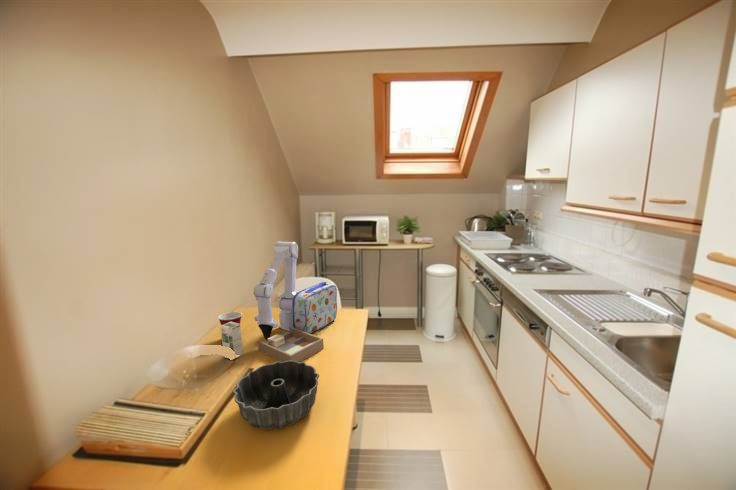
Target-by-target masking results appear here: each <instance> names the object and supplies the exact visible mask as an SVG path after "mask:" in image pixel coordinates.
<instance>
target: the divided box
mask: <svg viewBox="0 0 736 490" xmlns="http://www.w3.org/2000/svg"><path fill="white" fill-rule="evenodd" d="M279 335H280V336H283V337H284V340H285V343H284V344H282V345H280V346H278V347H276V348H275V347H273V346H270V345H268V340H266V341H265V342H264V341H261V340H257V345H258V351H259V352H260V353H263V354H265V355H267V356H269V357H271V358H273V359H275V360H277V361H278V362H284V361H297V362H299V363H300V362H303V361H304V360H306V359H308V358H309V357H311V356H313V355H314V354H317V353H318V352H319V351H321V350H323V349H325V348H324V347H325V346H324V338H323V337H319V336H316V335H314V334H312V333H310V334H309V333H306V332H304V331H301V330H298V329H295V328H293V327H289V331H286V332H285V333H283V334H279Z"/></svg>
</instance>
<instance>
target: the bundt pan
mask: <svg viewBox="0 0 736 490" xmlns="http://www.w3.org/2000/svg"><path fill="white" fill-rule="evenodd" d="M319 377H320V374H319V373H317V372H316V368H315V366H313V365H310V364H307V363H306V362H303V361H300V362H297V361H284V362H281V361H275V362H273V363H267V364H264V365H261V366H258V367H257V368H256V369H254V370H251V371H248V372H247V374H246V375H245V376H243V377H241V378H240V379H239V380H238V381H237V382H236V387H235V388H234V389H233V390H232V394H234V397H233V398H234V401H235V403H236V404H237V406H238V409H239V412H240V415H241V417H242V418H243V420H244V421H246V422H248V424H249V425H250V426H251V427H252V428H259V427H260V428H261V429H264V430H272V429H274V428H275V427H276V428H277V429H282V428H284V426H285V425H294V424H295V423H297V422H298V421H300V418H306V416H307V415H308V413H309V411H310V410H311V409H312V408H313V406H314V405H315V402H316V396H317V393H318V385H319Z"/></svg>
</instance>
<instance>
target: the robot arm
mask: <svg viewBox="0 0 736 490" xmlns="http://www.w3.org/2000/svg"><path fill="white" fill-rule="evenodd" d="M273 252H274V255H273V257H272V260H271V263H270V265H269V268H267V269H265V271H264V273H263V274H262V277H261V279H260V282H259V283H258V284H257V285H255V286H254V288H253V296H254V297H255V301H257V303H256V304H257V310H258V315H256V316H254V321H255V322H257V323H256V324H258V325H257V326H258V328H259V329H260V331H261V333H262V335H263V337H264V340H266V341H268V338H270V337H272V331H273V329H276V328H280V329H282V330H284V331H286V332H289V327H293V309H292V300H293V297H294V295H295V294H296V293H297V292H296V281H297V279H296V277H297V259H298V258H299V246H298V244H297V242H296V241H280V240H278V241H276V243H275V244H274V247H273ZM284 260H285V269H284V290H283V291H284V292H282V293H281V294H280V295H279V300H278V305H277V306H278V308H279V310H280V311H279V314H278V319H279V324H278V322H277V321H276V320H275V319H274V317H273V310H272V299H271V298H272V296H273V293H274V284H275V282H276V280H277V278H278V272H277V271H278V269H279V268H280V266H281V264H282V263H283V261H284ZM293 328H294V327H293Z"/></svg>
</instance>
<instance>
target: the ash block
mask: <svg viewBox="0 0 736 490" xmlns="http://www.w3.org/2000/svg"><path fill="white" fill-rule="evenodd" d="M280 335H281V334H277V333H276V334H275V335H271V337H270V338H268V340H267V341H268V345H270V346H273V347H275V348H276V347H278V346H280V345H282V344H284V343H285V340H284V337H283V336H280Z"/></svg>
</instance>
